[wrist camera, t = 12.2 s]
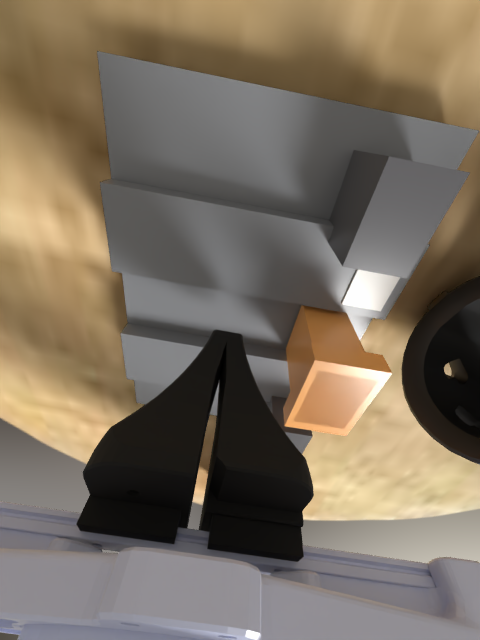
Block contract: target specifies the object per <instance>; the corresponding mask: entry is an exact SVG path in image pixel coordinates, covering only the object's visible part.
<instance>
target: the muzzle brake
mask: <svg viewBox="0 0 480 640" xmlns="http://www.w3.org/2000/svg"><path fill="white" fill-rule="evenodd" d="M428 310H429V311H428V312H427V313H426V314H425V315H424V316H423V317H422V319H421V320H420V322H419V323H418V324H417V326H416V327H415V329H414V331H413V332H412V334H411V336H410V338H409V340H408V343H407V346H406V349H405V352H404V356H403V362H402V385H403V390H404V395H405V398H406V401H407V403H408V405H409V408H410V410H411V412H412V413H413V415H414V416H415V418H416V419H417V421H418V422H419V424H420V425H421V426H422V427H423V428H424V430H425V431H426V432H427V433H428V434H429V435H430V436H431V437H432V438H433V439H434V440H436V441H437V442H439V443H440V444H441V445H443V446H444V447H445V448H447V449H448V450H449V451H451V452H453V453H455V454H457V455H459V456H461V457H463V458H465V459H468V460H470V461H472V462H474V463H477V464H479V465H480V276H478V277H476V278H474V279H472V280H469V281H467V282H466V283H464V284H462V285H461V286H459V287H457V288H456V289H454V290H452V291H451V292H450V293H448V292H446V291H444V292H443V293H442V294H440V295H439V296H438V297H437V298H436V299H435V300H434V301H433V302H432V303H431V304H429V305H428ZM447 363H449V364H450V367H451V370H452V375H451V376H449V375H446V374H445V372H444V366H445V365H446V364H447Z"/></svg>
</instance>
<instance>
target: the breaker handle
mask: <svg viewBox="0 0 480 640" xmlns="http://www.w3.org/2000/svg"><path fill="white" fill-rule="evenodd" d="M286 355H287V364H288V373H289V383H290V393H289V396H288V398H287V400H286V403H285V405H284V407H283V413H284V426H287V427H293V428H299V429H305V430H312V431H318V432H324V433H330V434H337V435H343V436H347V434H348V433H349V431H350V430H351V429H352V427H353V426H354V425H355V423H356V422H357V421H358V419H359V418H360V417H361V415H362V414H363V412H364V411H365V410H366V408H367V407H368V406H369V404H370V403H371V402H372V400H373V399H374V398H375V396H376V395H377V393H378V392H379V391H380V389H381V388H382V387H383V385H384V384H385V383H386V381H387V380H388V379H389V377H390V376H391V374H392V372H391V370H390V368H389V366H388V364H387V363H386V361H385V359H384V357H383V355H379V354H373V353H367V352H365V351H364V349H363V347H362V345H361V342H360V340H359V338H358V336H357V334H356V332H355V330H354V327H353V325H352V323H351V321H350V319H349V317H348V315H347V313H343V312H338V311H332V310H327V309H321V308H315V307H310V306H304V305H301V308H300V311H299V313H298V316H297V319H296V322H295V324H294V327H293V330H292V333H291V336H290V338H289V341H288V344H287V347H286Z"/></svg>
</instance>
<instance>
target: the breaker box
mask: <svg viewBox="0 0 480 640" xmlns="http://www.w3.org/2000/svg"><path fill="white" fill-rule="evenodd" d="M97 55H98V64H99V73H100V82H101V91H102V100H103V108H104V117H105V126H106V135H107V144H108V153H109V162H110V171H111V179H109V180H105V181H102V182H100V187H101V194H102V201H103V209H104V216H105V223H106V231H107V238H108V245H109V253H110V260H111V267H112V271H113V272H119V273H122V277H123V286H124V295H125V304H126V313H127V321H128V324H127V325H126V326H125V328H124V329H123V331H122V332H121V340H122V348H123V355H124V362H125V370H126V377H127V379H130V380H134V384H135V392H136V401H137V403H140V404H147V403H148V402H150V401H151V400H152V399H154V398H155V397H156V396H157V395H159V394H160V393H161V392H162V391H163V390H165V389H166V388H167V387H168V386H169V385H170V384H171V383H173V382H174V381H175V380H176V379H177V378H178V377H179V376H180V375H181V374H182V373H183V372H184V371H185V370H186V369H187V367H188V366H189V365H190V364H191V363H192V362H193V360H194V359H195V358H196V357H197V356H198V354H199V353H200V352H201V350H202V349H203V348H204V346H205V345H206V343H207V342H208V340H209V338H210V336H211V335H212V332H213V331H214V330H222V331H228V332H233V333H239V334H241V335H242V336H243V344H244V348H245V352H246V356H247V359H248V362H249V365H250V369H251V371H252V374H253V376H254V379H255V381H256V384H257V386H258V388H259V390H260V392H261V394H262V396H263V398H264V400H265V402H266V404H267V405H268V407H269V409H270V411H271V412H272V414H273V415H274V417H275V418H276V420H277V422H278V423H279V425H280V426H281V428H282V429H283V431H284V432H285V433H286V435H287V436H288V437H289V439H290V440H291V441H292V443H293V444H294V445H295V447H296V448H297V449H298V450H299V451H300V453H301V454H302V453H303V451H304V450H305V448H306V446H307V445H308V443H309V441H310V440H311V438H312V431H311V430H305V429H299V428H293V427H287V426H284V413H283V407H284V405H285V403H286V400H287V398H288V396H289V393H290V383H289V373H288V364H287V355H286V347H287V344H288V341H289V338H290V336H291V333H292V330H293V327H294V324H295V322H296V319H297V316H298V313H299V311H300V308H301V305H304V306H310V307H315V308H321V309H327V310H332V311H338V312H343V313H347V315H348V317H349V319H350V321H351V323H352V325H353V327H354V330H355V332H356V334H357V336H358V338H359V340H360V339H361V338H362V336H363V334H364V332H365V331H366V329H367V327H368V325H369V324H370V322H371V320H372V318H377V319H383V320H385V318H386V317H387V315H388V313H389V312H390V310H391V309H392V307H393V305H394V304H395V302H396V300H397V299H398V297H399V295H400V294H401V292H402V290H403V289H404V287H405V285H406V284H407V282H408V280H409V279H410V277H411V275H412V274H413V272H414V271H415V269H416V267H417V266H418V264H419V262H420V261H421V259H422V257H423V256H424V254H425V252H426V251H427V249H428V247H429V246H430V245H429V244H428V242H429V241H430V239H431V237H432V236H433V234H434V232H435V231H436V229H437V227H438V226H439V224H440V222H441V221H442V219H443V217H444V216H445V214H446V212H447V211H448V209H449V207H450V206H451V204H452V202H453V201H454V199H455V197H456V196H457V194H458V192H459V191H460V189H461V187H462V186H463V184H464V182H465V181H466V179H467V177H468V176H469V174H470V173H469V172H464V171H459V170H457V169H458V167H459V166H460V164H461V162H462V160H463V159H464V157H465V155H466V153H467V151H468V150H469V148H470V146H471V144H472V143H473V141H474V139H475V137H476V136H477V134H478V132H479V131H478V130H473V129H468V128H464V127H459V126H454V125H449V124H444V123H440V122H435V121H430V120H425V119H420V118H416V117H411V116H406V115H401V114H396V113H392V112H387V111H382V110H377V109H373V108H368V107H363V106H358V105H353V104H349V103H344V102H339V101H334V100H329V99H325V98H320V97H315V96H310V95H305V94H301V93H296V92H291V91H286V90H281V89H277V88H272V87H267V86H262V85H258V84H253V83H248V82H243V81H238V80H234V79H229V78H224V77H219V76H214V75H210V74H205V73H200V72H195V71H190V70H186V69H181V68H176V67H171V66H167V65H162V64H157V63H152V62H147V61H143V60H138V59H133V58H128V57H123V56H119V55H114V54H109V53H104V52H99V51H97ZM218 392H219V383H218V387H217V391H216V394H215V398H214V401H213V405H212V408H211V412H210V415H215V416H217V405H218Z"/></svg>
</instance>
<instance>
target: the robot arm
mask: <svg viewBox="0 0 480 640" xmlns="http://www.w3.org/2000/svg"><path fill="white" fill-rule="evenodd" d="M218 383H219V392H218V405H217V419H216V429H215V436H214V442H213V448H212V454H211V460H210V466H209V472H208V478H207V484H206V490H205V496H204V502H203V508H202V514H201V520H200V526H199V530H194V529H187V527H188V522H189V516H190V511H191V506H192V500H193V495H194V490H195V484H196V479H197V474H198V468H199V463H200V458H201V452H202V447H203V442H204V437H205V431H206V427H207V423H208V419H209V415H210V412H211V408H212V405H213V401H214V398H215V394H216V391H217V387H218ZM83 477H84V480H85V482H86V485H87V488H88V490H89V492H90V496H89V498H88V500H87V503H86V505H85V507H84V509H83V511H82V513H77V512H70V511H64V510H57V509H50V508H43V507H36V506H29V505H22V504H16V503H9V502H2V501H0V632H3V633H10V634H17V635H19V637H18V639H17V640H480V563H479V562H477V561H471V560H464V559H457V558H451V557H442V558H436V559H433V560H432V561H430V562H429V563H420V562H414V561H407V560H399V559H392V558H386V557H379V556H372V555H365V554H359V553H352V552H345V551H338V550H331V549H324V548H318V547H311V546H304V545H302V534H301V527H302V526H303V515H302V511H303V509H304V508H305V507H306V506H307V505H308V503H309V502H310V501H311V500H312V498H313V496H314V494H313V484H312V480H311V476H310V472H309V468H308V465H307V462H306V459H305V457H304V456H303V455H302V454H301V453H300V451H299V450H298V449H297V448H296V447H295V445H294V444H293V443H292V441H291V440H290V439H289V437H288V436H287V435H286V433H285V432H284V431H283V429H282V428H281V426H280V425H279V423H278V422H277V420H276V418H275V417H274V415H273V414H272V412H271V411H270V409H269V407H268V405H267V404H266V402H265V400H264V398H263V396H262V394H261V392H260V390H259V388H258V386H257V384H256V381H255V379H254V376H253V374H252V371H251V369H250V365H249V362H248V359H247V356H246V352H245V348H244V344H243V336H242V335H241V334H239V333H233V332H228V331H222V330H214V331H213V332H212V335H211V336H210V338H209V340H208V342H207V343H206V345H205V346H204V348H203V349H202V350H201V352H200V353H199V354H198V356H197V357H196V358H195V359H194V360H193V362H192V363H191V364H190V365H189V366H188V367H187V369H186V370H185V371H184V372H183V373H182V374H181V375H180V376H179V377H178V378H177V379H176V380H175V381H174V382H173V383H171V384H170V385H169V386H168V387H167V388H166V389H165V390H163V391H162V392H161V393H160V394H159V395H157V396H156V397H155V398H154V399H152V400H151V401H150V402H148V403H147V404H145V405H144V406H143V407H141V408H140V409H139V410H137V411H136V412H134V413H133V414H131V415H130V416H128V417H126V418H125V419H123V420H122V421H120V422H118V423H117V424H115V425H114V426H112V427H111V428H110V429H109V430H108V431H107V433H106V434H105V435H104V437H103V438H102V439H101V441H100V442H99V444H98V445H97V447H96V448H95V450H94V452H93V453H92V455H91V457H90V459H89V461H88V463H87V465H86V467H85V469H84V471H83ZM102 549H104V550H111V551H118V552H119V553H103V552H102Z"/></svg>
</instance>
